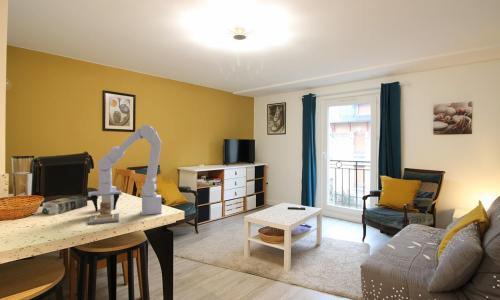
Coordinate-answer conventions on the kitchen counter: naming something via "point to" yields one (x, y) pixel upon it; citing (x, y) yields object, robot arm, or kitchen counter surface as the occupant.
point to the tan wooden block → (105, 208)
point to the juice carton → (64, 204)
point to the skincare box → (110, 198)
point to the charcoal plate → (103, 219)
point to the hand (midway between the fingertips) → (105, 210)
